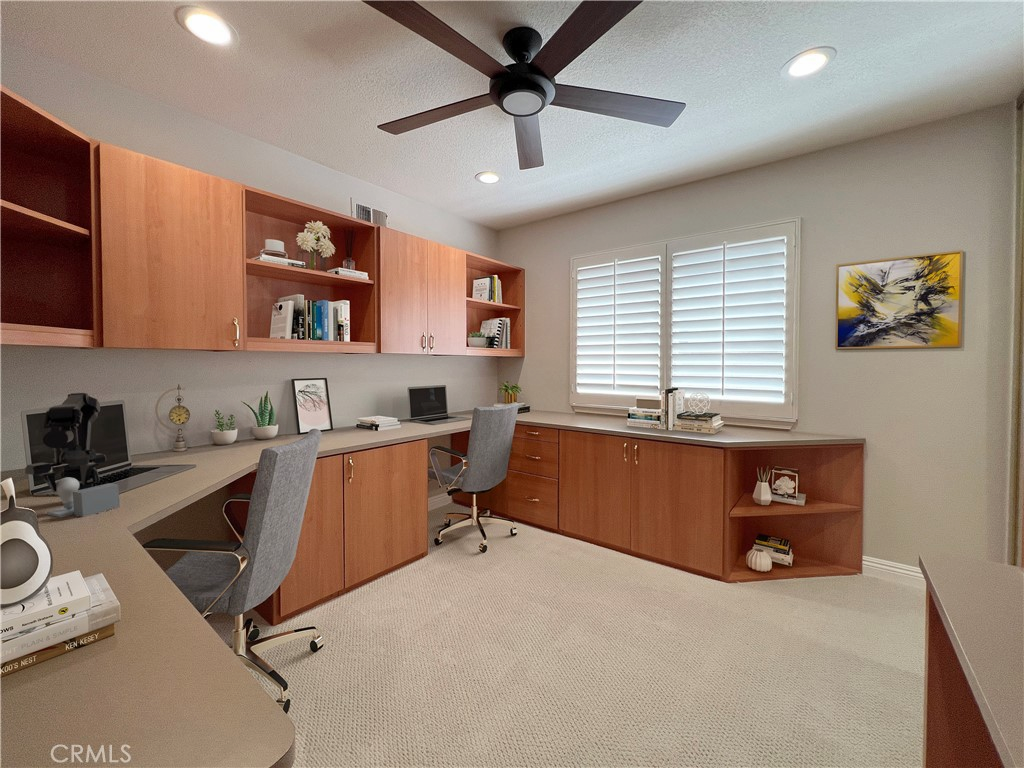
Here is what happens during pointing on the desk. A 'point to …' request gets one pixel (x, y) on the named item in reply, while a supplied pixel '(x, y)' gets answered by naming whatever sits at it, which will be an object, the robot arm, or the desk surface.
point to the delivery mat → (61, 512)
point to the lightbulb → (67, 490)
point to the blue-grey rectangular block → (95, 499)
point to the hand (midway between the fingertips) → (69, 488)
